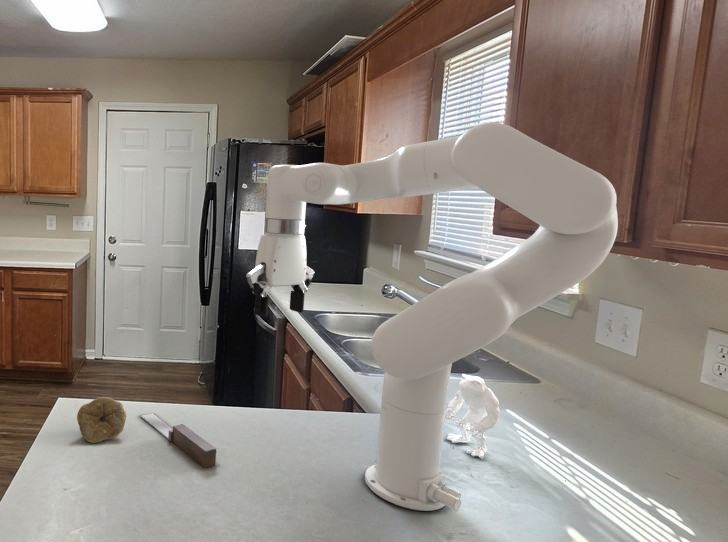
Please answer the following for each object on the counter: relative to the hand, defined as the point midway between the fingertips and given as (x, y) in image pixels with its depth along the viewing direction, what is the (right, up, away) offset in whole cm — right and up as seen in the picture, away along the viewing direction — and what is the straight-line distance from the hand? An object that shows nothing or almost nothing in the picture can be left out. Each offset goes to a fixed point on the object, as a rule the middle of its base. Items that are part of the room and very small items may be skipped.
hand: (278, 313), depth 100 cm
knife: (-21, -26, +1) cm, 33 cm away
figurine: (+39, -28, +1) cm, 48 cm away
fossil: (-36, -25, +2) cm, 44 cm away
